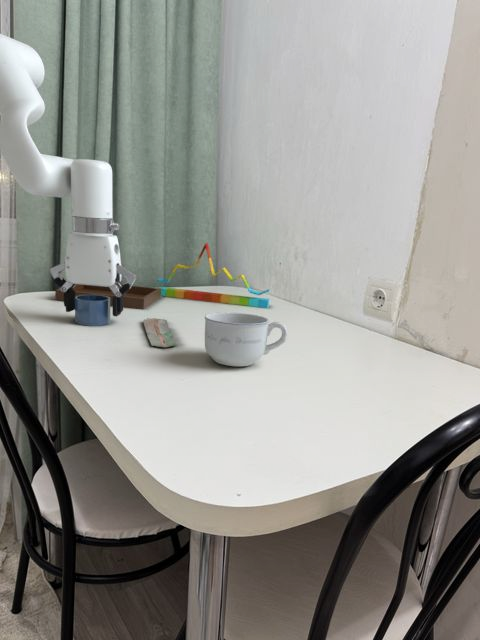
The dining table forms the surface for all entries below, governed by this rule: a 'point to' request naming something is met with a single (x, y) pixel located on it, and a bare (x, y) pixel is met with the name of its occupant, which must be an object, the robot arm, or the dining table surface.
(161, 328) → the map
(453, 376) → the dining table surface
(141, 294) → the tray
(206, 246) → the chart
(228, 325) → the teacup
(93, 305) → the blue short cylinder
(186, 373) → the dining table surface
